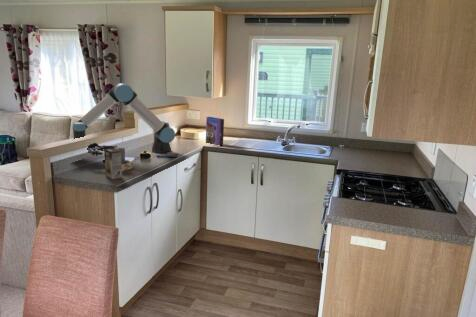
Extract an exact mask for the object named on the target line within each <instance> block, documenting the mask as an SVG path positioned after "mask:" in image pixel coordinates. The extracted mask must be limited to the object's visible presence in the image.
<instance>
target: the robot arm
mask: <svg viewBox="0 0 476 317" xmlns="http://www.w3.org/2000/svg"><path fill="white" fill-rule="evenodd" d="M119 102H121V103H122V104H123V106H124V107H129V108H130V109H131V110H132V111H133V112H134V113H135V114H136V115H137V116H138V117H139V118H140V119H141V120H142V121H143V122H144V123H145V124H146V125H147V126H149V127H150V128H151V129H152V133H153V143H152V147H151V153H153V154H154V153H155V154H169V153H171V152H172V147H171V145H170V143H172V142H173V140H174V139H175V137H176V132H175V130H174V129H173V128H172V127H170V124H169V122H165V121H163V120H162V121H161V119H159V118H158V116H157V115H155V114H154V112H152V111H151V110H150V109H149V108H148V107H147V106H146V104H144V102H142V101H141V100H140V99H139V97H138V94H137V93H136V92H135V90H133V88H132V87H131V86H130V85H129V84H128V83H123V82H118V83H116V84H114V85H113V86H112V88H111V89H109V91H108V92H107V93H106V95H105V97H103V98H102V99H101V100H100V101H99V102H98V103H97V104H95V106H93V107H92V108H91V109H90V110H89V111H88V112H86V114H84V115H83V116H82V117H81V118H80V119H79V120H78V121H76V122H73V123H72V132H73V133H72V134H73V140H74V139H75V138H80V137H84V136H87V134H86V130H87V129H88V128H89V127H90V126H91V125H93V123H95V122H96V121H97V120H98V119H100V117H101V116H103V115H104V114H105V113H106V112H107V111H108V110H109V109H111V108H112V107H113V105H115V104H118V103H119ZM118 147H119V146H117V145H104V144H103V145H99V144H98V143H97V142H93V143H90V145H89V146H88V148H87V150H88V154H91V155H92V156H96V157H98V156H102V157H105V153H104V149H113V148H114V149H116V148H118Z"/></svg>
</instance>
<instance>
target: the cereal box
mask: <svg viewBox="0 0 476 317" xmlns="http://www.w3.org/2000/svg"><path fill="white" fill-rule="evenodd" d="M205 119H206V120H205V121H206V123H205V125H206V127H205V144H207V143H210V144H209V145H211V144H215V145H223V146H224V133H225V132H224V131H225V130H224V129H225V118H220V117H215V116H214V117H213V116H206V118H205ZM215 145H214V146H215Z"/></svg>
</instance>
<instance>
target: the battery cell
mask: <svg viewBox="0 0 476 317" xmlns="http://www.w3.org/2000/svg"><path fill="white" fill-rule="evenodd" d="M117 147H118V148H116V149H117V150H119V151H121V165H122V164H125V161H126V149H125V148H124V147H122V146H117Z"/></svg>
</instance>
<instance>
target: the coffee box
mask: <svg viewBox="0 0 476 317" xmlns="http://www.w3.org/2000/svg"><path fill="white" fill-rule="evenodd" d="M103 150H104V153H105V156H104V169H105V171H104V172H105V173H104V174H105V177H108V178H110V179H111V180H114V179H119V178H123V175H122V173H123V171H122V166H121V151H119V150H117V149H114V148H113V149H103Z"/></svg>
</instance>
